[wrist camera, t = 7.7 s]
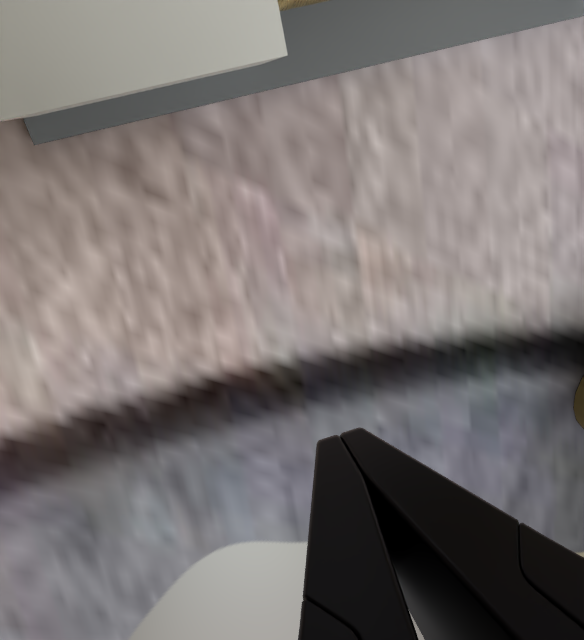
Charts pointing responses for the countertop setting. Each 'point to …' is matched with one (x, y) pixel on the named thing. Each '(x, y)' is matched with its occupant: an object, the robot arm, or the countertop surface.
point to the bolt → (296, 3)
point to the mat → (321, 53)
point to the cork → (579, 403)
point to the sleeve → (124, 47)
